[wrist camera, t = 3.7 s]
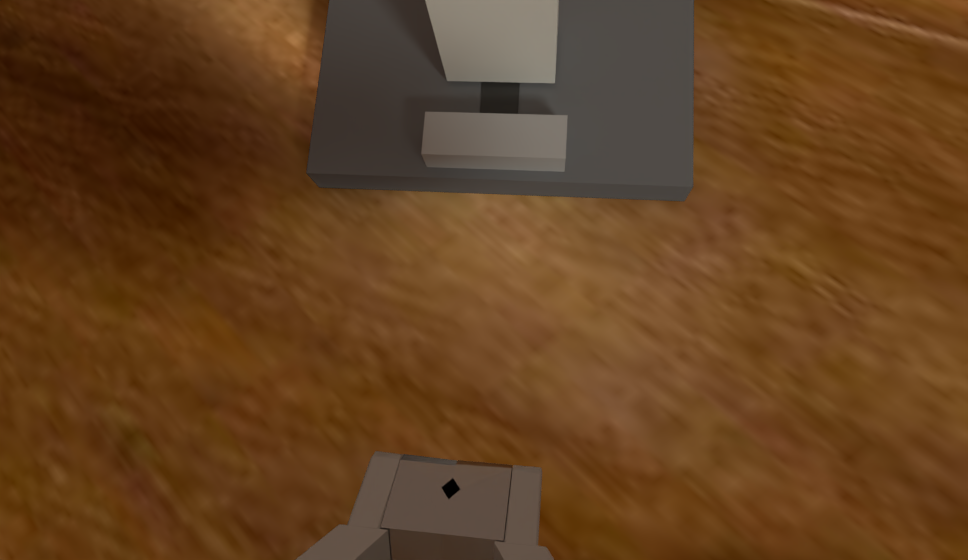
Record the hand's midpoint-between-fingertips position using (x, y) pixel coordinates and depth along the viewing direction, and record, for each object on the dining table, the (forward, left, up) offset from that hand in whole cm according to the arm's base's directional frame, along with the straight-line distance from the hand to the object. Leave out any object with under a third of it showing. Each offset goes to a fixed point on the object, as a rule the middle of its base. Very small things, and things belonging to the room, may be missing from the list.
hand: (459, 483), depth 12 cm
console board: (-1, +21, -12) cm, 24 cm away
